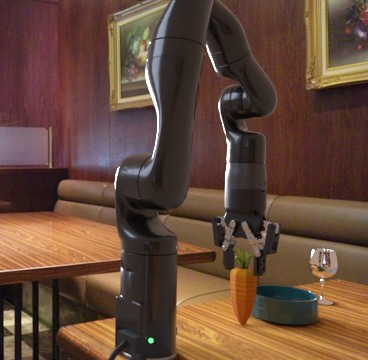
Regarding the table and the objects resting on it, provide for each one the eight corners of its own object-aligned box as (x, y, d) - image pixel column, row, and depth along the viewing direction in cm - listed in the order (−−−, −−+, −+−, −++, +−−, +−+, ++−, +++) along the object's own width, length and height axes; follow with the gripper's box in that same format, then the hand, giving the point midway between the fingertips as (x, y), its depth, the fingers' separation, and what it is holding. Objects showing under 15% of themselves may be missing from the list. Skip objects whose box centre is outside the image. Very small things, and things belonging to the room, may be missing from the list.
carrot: (258, 330, 94) (260, 252, 93) (231, 328, 95) (232, 251, 94) (253, 322, 99) (255, 247, 98) (227, 320, 100) (228, 246, 99)
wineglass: (302, 300, 115) (303, 248, 115) (318, 297, 117) (320, 247, 117) (325, 306, 110) (326, 253, 109) (342, 303, 112) (343, 251, 112)
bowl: (295, 331, 94) (296, 305, 93) (234, 313, 104) (235, 290, 104) (330, 319, 101) (331, 295, 101) (270, 303, 112) (271, 282, 112)
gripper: (202, 185, 100) (201, 268, 100) (268, 188, 88) (266, 282, 88) (225, 184, 104) (224, 263, 104) (292, 187, 92) (289, 277, 93)
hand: (243, 272), depth 96 cm, fingers open, 5 cm apart
